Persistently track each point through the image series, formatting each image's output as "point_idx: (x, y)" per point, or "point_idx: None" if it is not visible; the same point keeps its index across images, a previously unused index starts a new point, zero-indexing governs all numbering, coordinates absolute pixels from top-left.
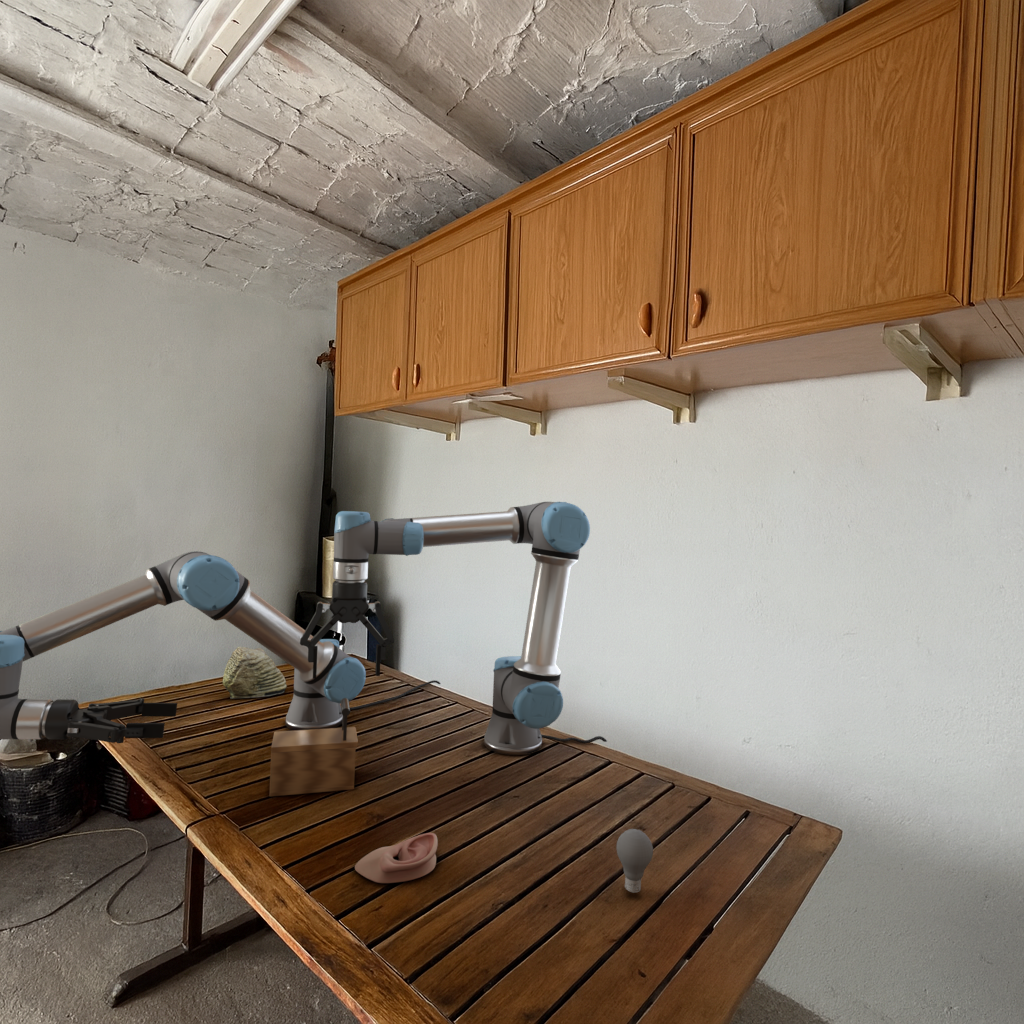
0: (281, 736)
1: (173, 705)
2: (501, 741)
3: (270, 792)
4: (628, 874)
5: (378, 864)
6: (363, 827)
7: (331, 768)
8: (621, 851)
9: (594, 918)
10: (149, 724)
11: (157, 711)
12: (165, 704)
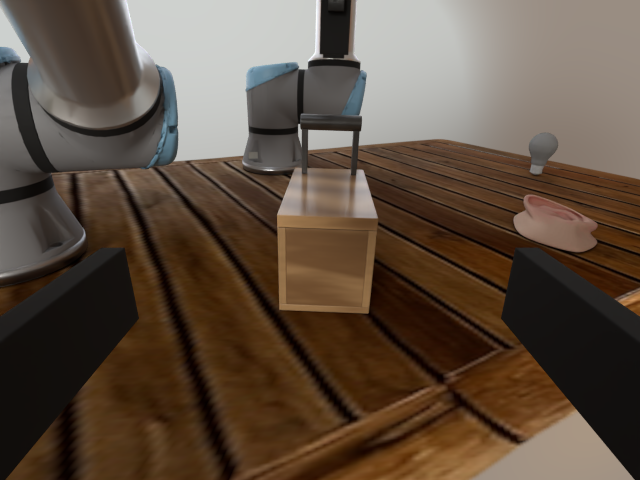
0: (314, 209)
1: (117, 264)
2: (292, 160)
3: (369, 305)
4: (545, 162)
5: (581, 232)
6: (470, 243)
7: None
8: (553, 146)
9: (576, 186)
10: (590, 286)
11: (68, 359)
12: (86, 281)
